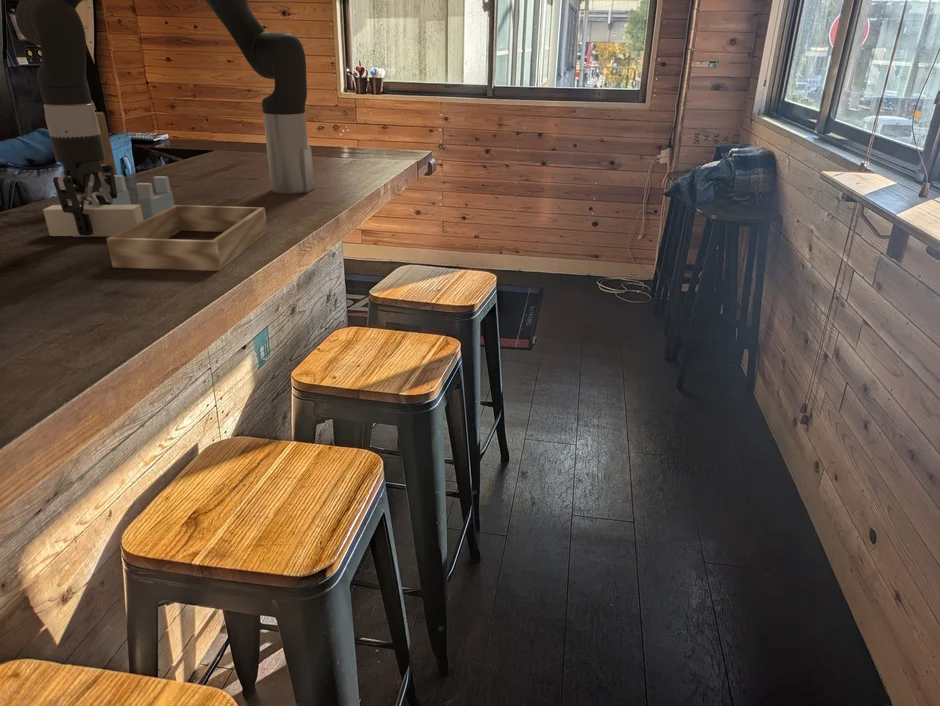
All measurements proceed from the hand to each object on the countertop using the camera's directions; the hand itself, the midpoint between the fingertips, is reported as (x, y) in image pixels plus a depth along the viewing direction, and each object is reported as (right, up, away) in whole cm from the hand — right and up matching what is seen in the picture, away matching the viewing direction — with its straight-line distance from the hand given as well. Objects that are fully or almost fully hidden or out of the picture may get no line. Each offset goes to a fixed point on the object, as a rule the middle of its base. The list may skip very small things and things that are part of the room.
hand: (97, 229), depth 116 cm
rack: (+1, +5, +12) cm, 14 cm away
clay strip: (0, -1, 0) cm, 1 cm away
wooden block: (-11, +9, +21) cm, 25 cm away
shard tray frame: (+21, -4, -7) cm, 22 cm away
